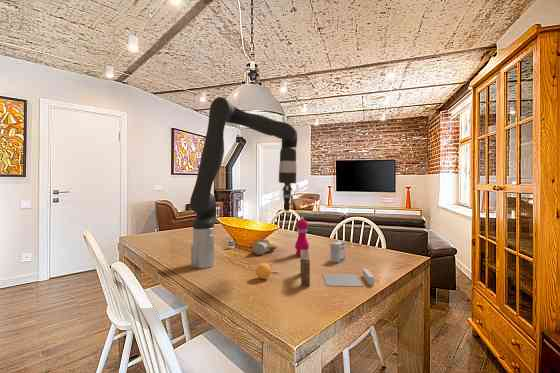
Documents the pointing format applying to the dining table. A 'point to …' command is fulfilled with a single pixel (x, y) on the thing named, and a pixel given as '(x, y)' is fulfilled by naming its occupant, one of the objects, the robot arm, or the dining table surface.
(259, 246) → the ceramic sculpture
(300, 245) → the magenta tall lumpy piece
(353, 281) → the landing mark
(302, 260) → the bridge
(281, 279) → the dining table surface
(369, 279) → the stopper wall
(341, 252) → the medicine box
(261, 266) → the ball
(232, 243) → the coffee cup
